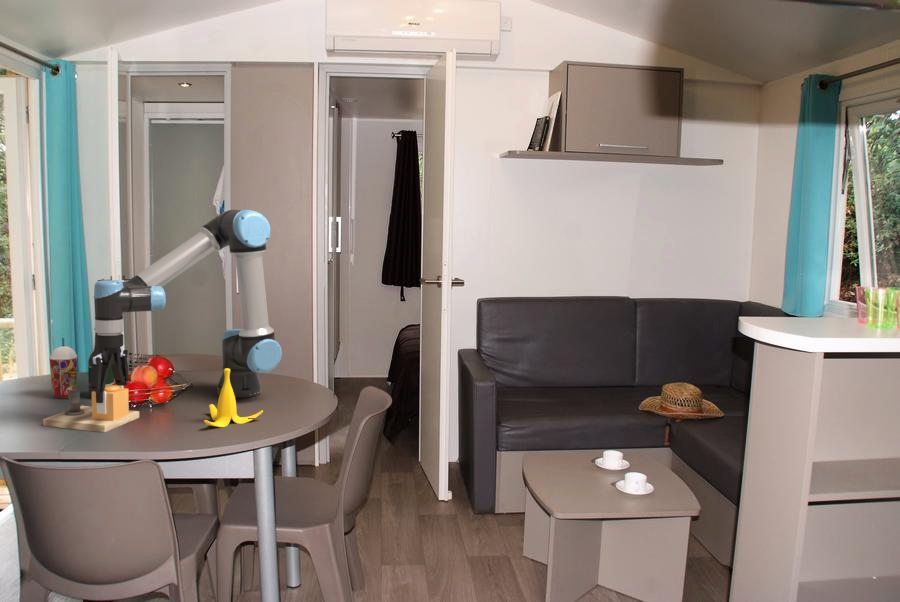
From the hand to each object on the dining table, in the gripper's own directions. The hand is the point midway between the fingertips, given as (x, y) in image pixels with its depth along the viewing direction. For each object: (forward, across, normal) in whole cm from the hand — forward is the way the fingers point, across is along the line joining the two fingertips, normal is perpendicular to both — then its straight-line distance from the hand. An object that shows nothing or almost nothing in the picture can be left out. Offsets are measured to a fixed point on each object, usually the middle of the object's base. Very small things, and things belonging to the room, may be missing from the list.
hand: (110, 409), depth 211 cm
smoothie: (+4, -22, -34) cm, 40 cm away
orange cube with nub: (+2, 0, 0) cm, 2 cm away
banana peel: (+5, -10, +30) cm, 32 cm away
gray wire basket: (+5, -55, -33) cm, 64 cm away
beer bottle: (+4, -26, -22) cm, 35 cm away
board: (+4, 0, -6) cm, 7 cm away
